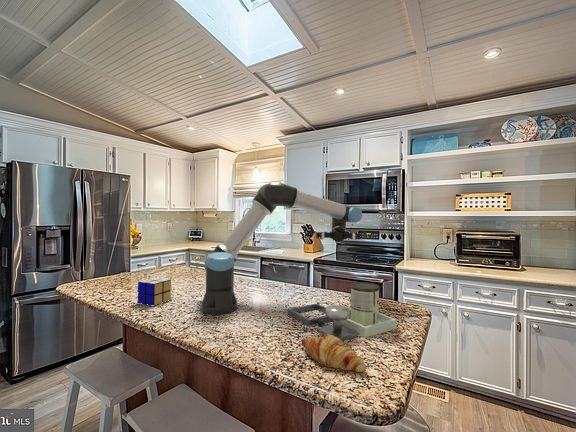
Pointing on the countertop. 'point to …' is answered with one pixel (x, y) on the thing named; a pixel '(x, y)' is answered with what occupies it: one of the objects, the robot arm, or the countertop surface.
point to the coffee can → (365, 303)
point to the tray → (370, 330)
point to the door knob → (337, 323)
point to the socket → (296, 310)
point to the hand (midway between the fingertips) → (338, 236)
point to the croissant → (333, 353)
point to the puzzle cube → (154, 291)
